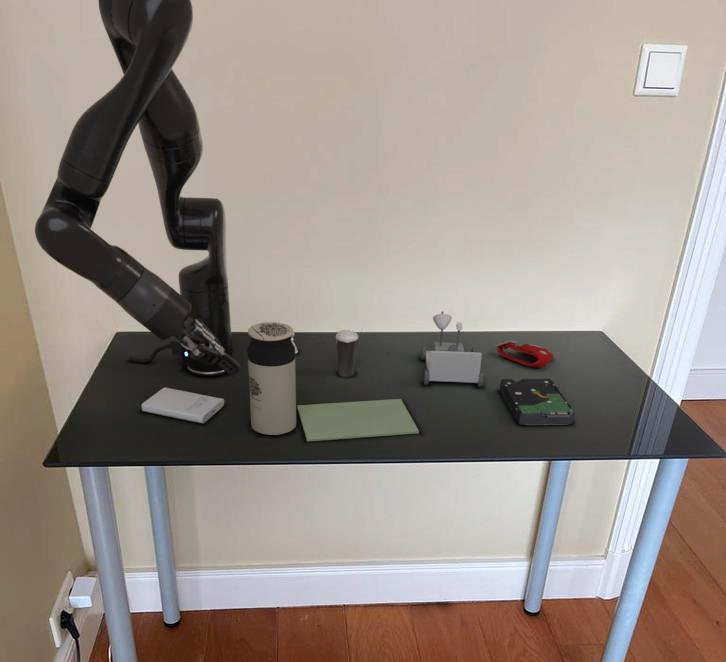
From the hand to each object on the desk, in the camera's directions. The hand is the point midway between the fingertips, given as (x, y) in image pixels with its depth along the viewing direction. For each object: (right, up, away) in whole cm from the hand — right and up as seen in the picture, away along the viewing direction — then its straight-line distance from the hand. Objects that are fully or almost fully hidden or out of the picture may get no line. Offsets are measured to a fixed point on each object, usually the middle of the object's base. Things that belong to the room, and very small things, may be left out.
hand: (236, 371), depth 129 cm
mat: (+20, -7, +10) cm, 24 cm away
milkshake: (+18, +3, +27) cm, 33 cm away
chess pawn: (+6, +9, +35) cm, 37 cm away
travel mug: (+5, -9, +7) cm, 13 cm away
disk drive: (+54, -5, +17) cm, 57 cm away
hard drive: (-12, -5, +12) cm, 17 cm away
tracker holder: (+56, +8, +36) cm, 68 cm away
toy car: (+39, +5, +30) cm, 50 cm away
